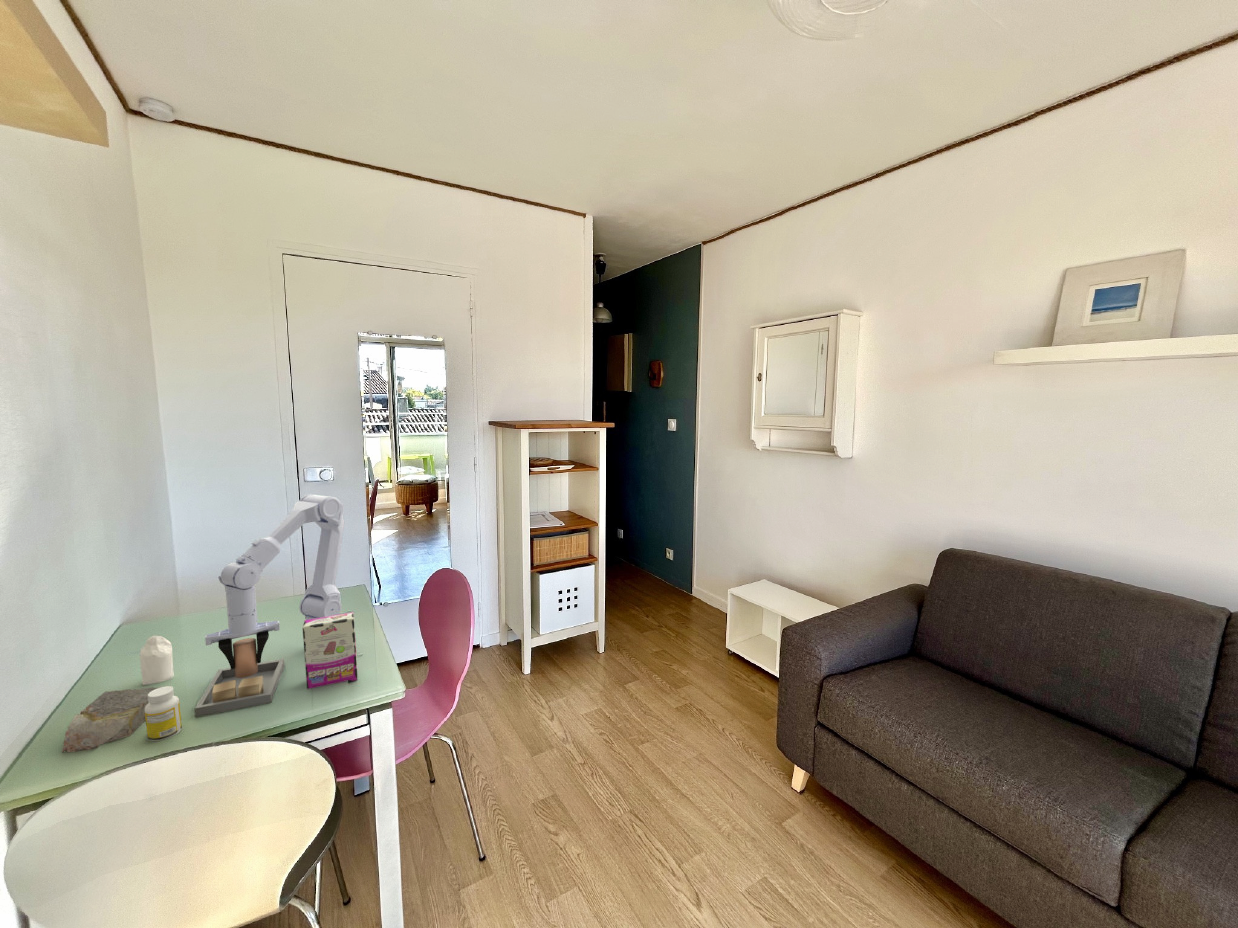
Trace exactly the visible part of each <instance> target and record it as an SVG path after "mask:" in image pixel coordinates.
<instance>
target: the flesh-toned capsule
mask: <svg viewBox="0 0 1238 928" xmlns="http://www.w3.org/2000/svg"><path fill="white" fill-rule="evenodd" d="M232 651H233V657H234V669H235V677H236V678H245V677H249V676H252V675H254V674H256V673H257V672H258V663H257V638H254V637H251V638H250V637H248V638H243V639H239V640H237V641H235V642H232Z"/></svg>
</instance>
